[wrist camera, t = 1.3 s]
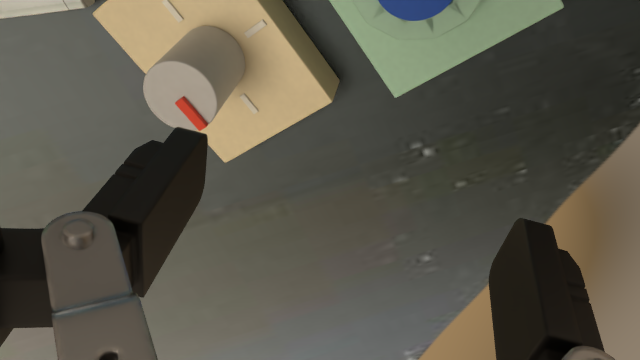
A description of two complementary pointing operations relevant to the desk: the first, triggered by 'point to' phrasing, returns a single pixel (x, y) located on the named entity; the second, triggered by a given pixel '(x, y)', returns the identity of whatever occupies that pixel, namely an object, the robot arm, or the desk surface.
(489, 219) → the desk surface
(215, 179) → the desk surface
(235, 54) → the dial
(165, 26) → the panel
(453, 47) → the green push-button base
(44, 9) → the hard drive
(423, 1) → the button
